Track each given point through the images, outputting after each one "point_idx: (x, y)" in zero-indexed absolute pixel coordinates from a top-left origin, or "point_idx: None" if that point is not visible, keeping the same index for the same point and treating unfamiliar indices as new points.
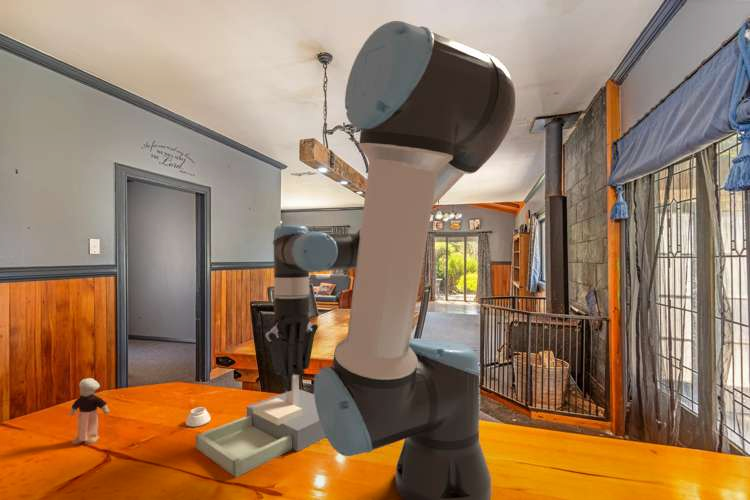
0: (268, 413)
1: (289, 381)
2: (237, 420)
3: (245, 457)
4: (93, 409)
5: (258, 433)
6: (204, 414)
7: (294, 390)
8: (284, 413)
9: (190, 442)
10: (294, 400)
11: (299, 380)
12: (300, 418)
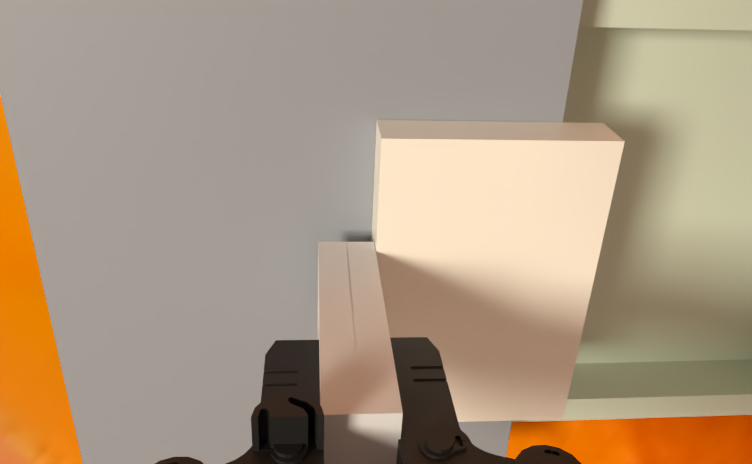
0: (596, 260)
1: (420, 401)
2: (584, 412)
3: None
4: None
5: None
6: None
7: (372, 317)
8: (533, 174)
9: (733, 427)
10: (368, 266)
11: (287, 387)
12: (426, 85)
